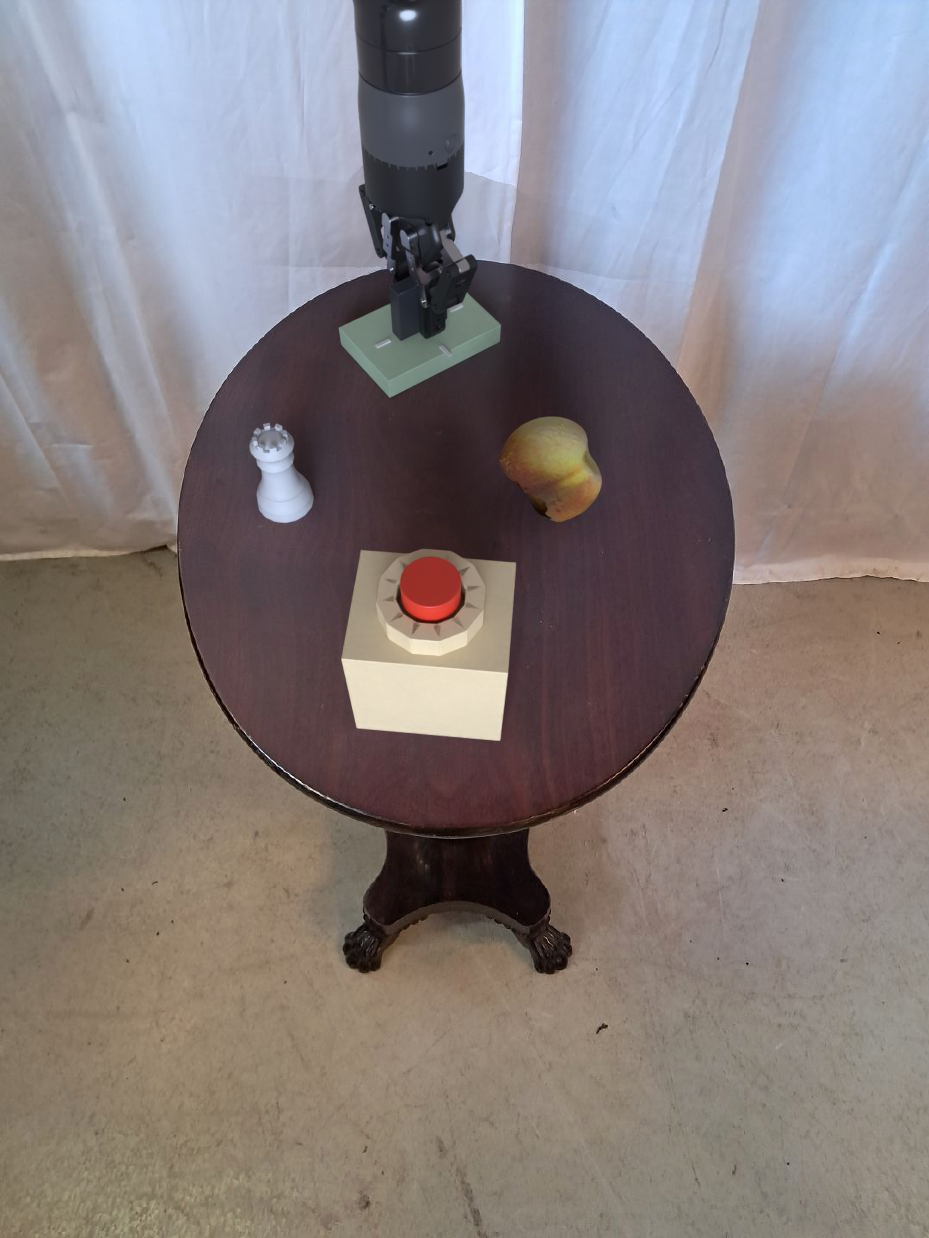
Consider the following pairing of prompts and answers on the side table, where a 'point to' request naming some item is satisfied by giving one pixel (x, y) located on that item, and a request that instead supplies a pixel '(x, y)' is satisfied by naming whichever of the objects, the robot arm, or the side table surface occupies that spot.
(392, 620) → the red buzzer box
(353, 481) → the side table surface
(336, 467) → the side table surface
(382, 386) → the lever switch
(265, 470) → the rook chess piece
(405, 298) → the black box
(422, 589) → the red push button
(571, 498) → the fruit
